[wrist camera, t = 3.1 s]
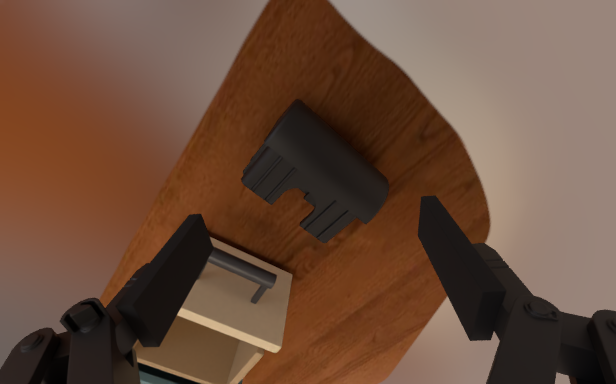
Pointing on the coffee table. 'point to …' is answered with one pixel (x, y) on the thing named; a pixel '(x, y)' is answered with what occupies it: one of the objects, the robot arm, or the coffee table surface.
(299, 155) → the end cap
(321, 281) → the coffee table surface
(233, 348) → the drawer
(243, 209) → the coffee table surface
